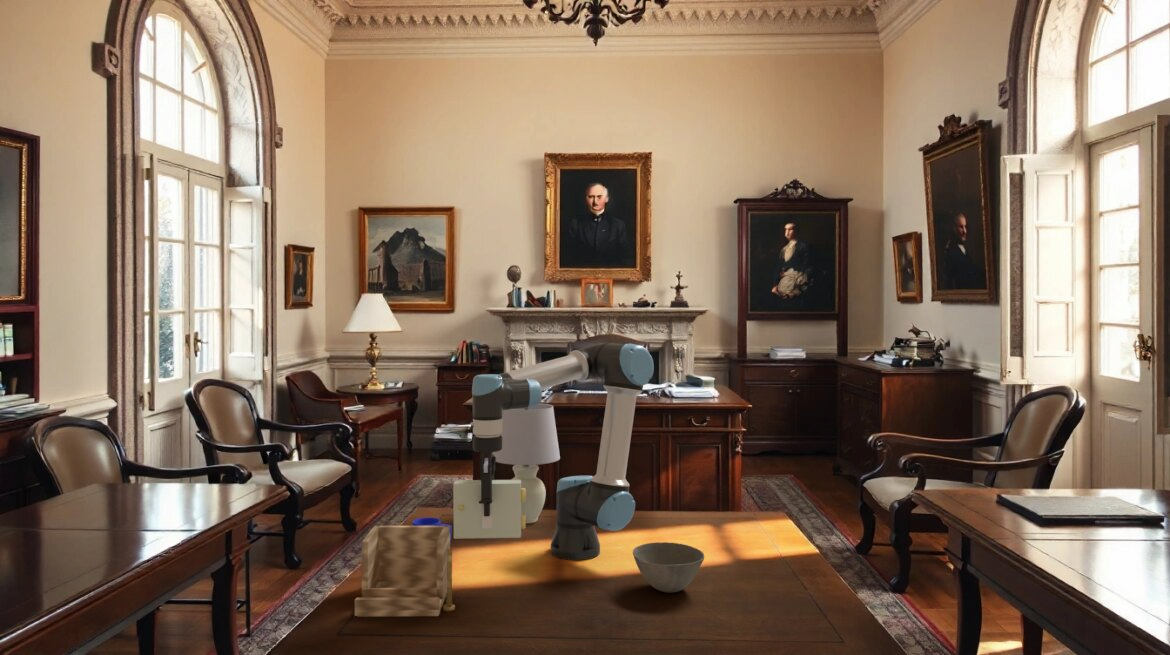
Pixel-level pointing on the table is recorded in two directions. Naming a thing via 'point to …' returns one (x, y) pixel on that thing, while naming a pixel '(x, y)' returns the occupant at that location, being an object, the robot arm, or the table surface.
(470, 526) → the door
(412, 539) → the cabinet
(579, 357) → the robot arm
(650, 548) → the bowl
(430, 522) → the mug
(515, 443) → the lamp
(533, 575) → the table surface
